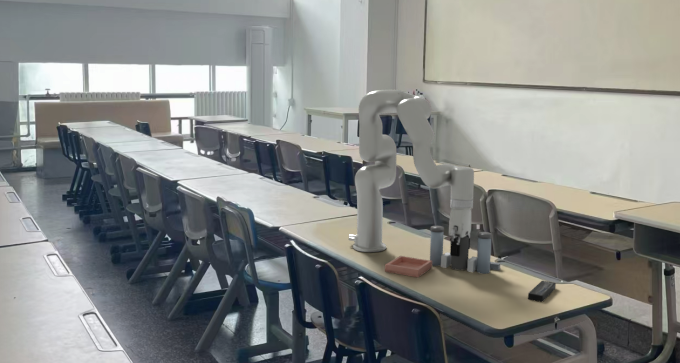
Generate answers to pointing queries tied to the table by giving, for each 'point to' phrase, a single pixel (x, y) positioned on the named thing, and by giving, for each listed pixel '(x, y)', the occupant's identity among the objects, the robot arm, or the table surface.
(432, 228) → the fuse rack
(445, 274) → the table surface
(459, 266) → the bottle
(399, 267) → the tray
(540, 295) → the multiport hub
